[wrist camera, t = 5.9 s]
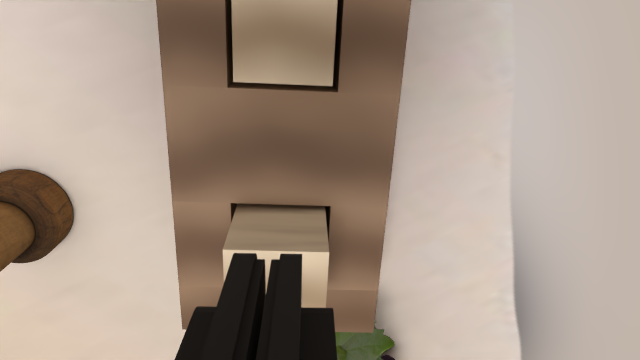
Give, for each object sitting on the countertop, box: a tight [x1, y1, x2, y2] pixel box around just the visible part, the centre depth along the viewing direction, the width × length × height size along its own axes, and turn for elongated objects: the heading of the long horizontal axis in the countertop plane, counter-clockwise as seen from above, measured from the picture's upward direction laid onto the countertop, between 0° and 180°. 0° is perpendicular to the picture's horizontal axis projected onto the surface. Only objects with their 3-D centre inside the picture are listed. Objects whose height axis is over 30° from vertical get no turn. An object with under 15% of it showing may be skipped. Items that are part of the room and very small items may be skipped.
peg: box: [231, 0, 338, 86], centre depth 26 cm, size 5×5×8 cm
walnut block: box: [156, 0, 411, 333], centre depth 28 cm, size 24×12×8 cm, turn 177°
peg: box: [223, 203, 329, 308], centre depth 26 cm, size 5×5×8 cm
